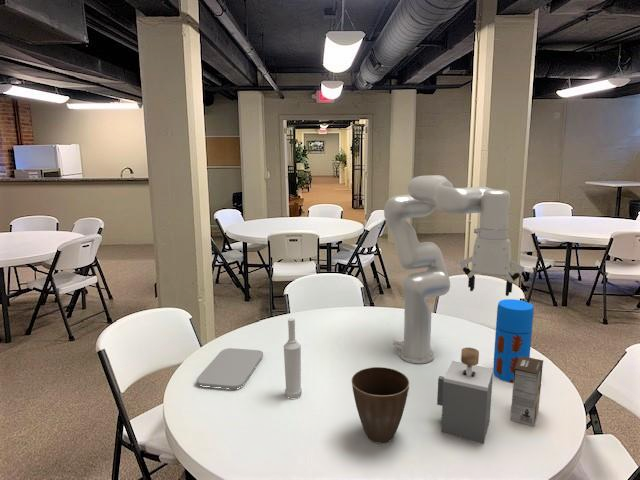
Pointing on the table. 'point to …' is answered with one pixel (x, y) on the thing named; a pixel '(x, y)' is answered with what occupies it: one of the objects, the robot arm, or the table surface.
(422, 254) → the robot arm
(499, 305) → the thermos
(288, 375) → the bottle
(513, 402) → the coffee box
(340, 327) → the table surface
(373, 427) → the plant pot
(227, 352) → the tablet
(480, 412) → the block
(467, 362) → the plunger
